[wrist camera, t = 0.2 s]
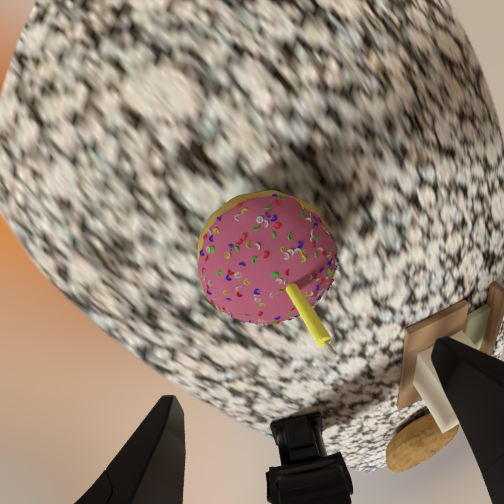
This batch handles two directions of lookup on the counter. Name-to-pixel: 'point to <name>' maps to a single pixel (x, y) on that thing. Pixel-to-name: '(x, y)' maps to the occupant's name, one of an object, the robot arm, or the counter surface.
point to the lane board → (447, 324)
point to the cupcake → (268, 261)
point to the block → (436, 386)
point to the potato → (417, 443)
